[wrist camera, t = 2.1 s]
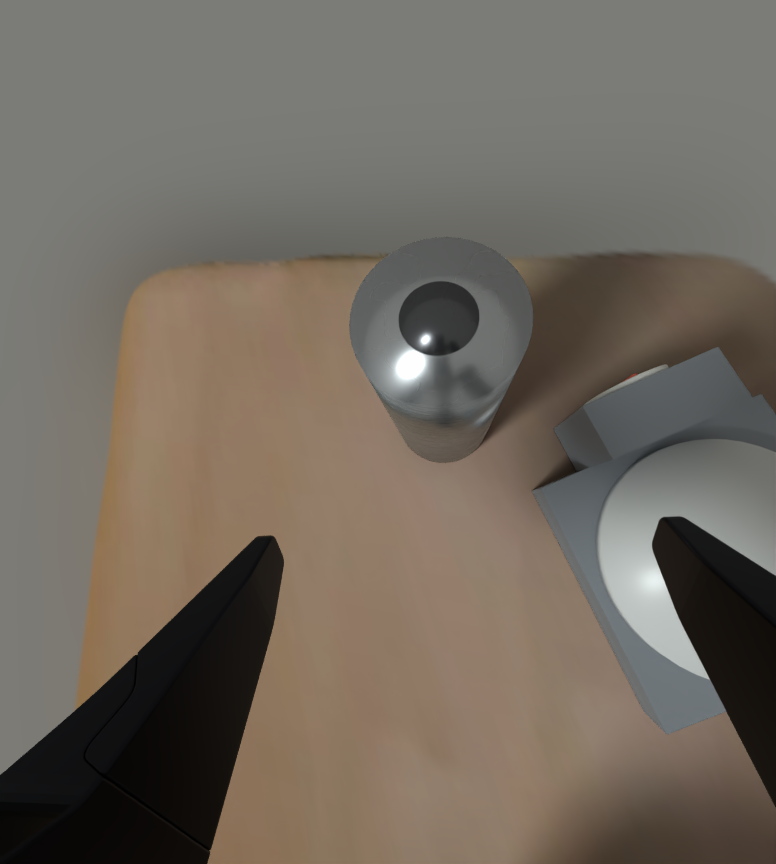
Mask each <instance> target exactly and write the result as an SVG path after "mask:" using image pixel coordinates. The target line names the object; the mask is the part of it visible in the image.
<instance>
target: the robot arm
mask: <svg viewBox="0 0 776 864" xmlns="http://www.w3.org/2000/svg"><path fill="white" fill-rule="evenodd" d="M652 550H653V553H654V556H655V559H656V561H657V564H658V566H659V569H660V572H661V574H662V577H663V579H664V582H665V585H666V587H667V590H668V592H669V595H670V598H671V600H672V603H673V605H674V608H675V610H676V613H677V615H678V618H679V620H680V622H681V624H682V626H683V628H684V630H685V632H686V634H687V636H688V638H689V640H690V642H691V644H692V646H693V648H694V649H695V651H696V653H697V655H698V657H699V659H700V661H701V663H702V665H703V667H704V669H705V671H706V673H707V675H708V677H709V679H710V681H711V683H712V685H713V686H714V688H715V690H716V692H717V694H718V696H719V698H720V700H721V702H722V704H723V706H724V708H725V710H726V712H727V714H728V716H729V718H730V720H731V722H732V723H733V725H734V727H735V729H736V731H737V733H738V735H739V737H740V739H741V741H742V743H743V745H744V747H745V749H746V751H747V753H748V755H749V757H750V759H751V760H752V762H753V764H754V766H755V768H756V770H757V772H758V774H759V776H760V778H761V780H762V782H763V784H764V786H765V788H766V790H767V792H768V794H769V796H770V797H771V799H772V801H773V803H774V805H775V807H776V576H775V575H774V574H772V573H771V572H769V571H768V570H766V569H764V568H763V567H761V566H760V565H758V564H757V563H755V562H754V561H752V560H750V559H749V558H747V557H746V556H744V555H743V554H741V553H739V552H738V551H736V550H735V549H733V548H732V547H730V546H728V545H727V544H725V543H724V542H722V541H721V540H719V539H717V538H716V537H714V536H713V535H711V534H710V533H708V532H706V531H705V530H703V529H702V528H700V527H699V526H697V525H696V524H694V523H692V522H691V521H689V520H688V519H686V518H684V517H681V516H671V517H662V518H661V519H660V520H659V522H658V525H657V528H656V531H655V534H654V537H653V540H652ZM283 567H284V559H283V555H282V553H281V550H280V548H279V546H278V543H277V541H276V539H275V537H274V536H271V535H270V536H258V537H256V538H255V539H254V540H253V541H252V542H251V543H250V544H249V545H248V546H247V547H245V548H244V549H243V550H242V551H241V552H240V553H239V554H238V555H237V556H236V557H235V558H234V559H233V560H232V561H231V562H230V563H229V564H228V565H227V566H226V567H225V568H224V569H223V570H222V571H221V572H220V573H219V574H218V575H217V576H216V577H215V578H214V579H213V580H212V581H211V582H210V583H209V584H207V585H206V586H205V587H204V588H203V589H202V590H201V591H200V592H199V593H198V594H197V595H196V596H195V597H194V598H193V599H192V600H191V601H190V602H189V603H188V604H187V605H186V606H185V607H184V608H183V609H182V610H181V611H180V612H179V613H178V614H177V615H176V616H175V617H174V618H173V619H172V620H171V621H169V622H168V623H167V624H166V625H165V626H164V627H163V628H162V629H161V630H160V631H159V632H158V633H157V634H156V635H155V636H154V637H153V638H152V639H151V640H150V641H149V642H148V643H147V644H146V645H145V646H144V647H143V648H142V649H141V650H140V651H139V652H138V655H135V656H133V657H132V658H131V659H130V660H129V661H128V662H127V663H126V664H125V665H124V666H123V667H122V668H121V669H120V670H119V671H118V672H117V673H116V674H115V675H114V676H113V677H112V678H110V679H109V680H108V681H107V682H106V683H105V684H104V685H103V686H102V687H101V688H100V689H99V690H98V691H97V692H96V693H94V694H93V695H92V696H91V697H90V698H89V699H88V700H87V701H85V702H84V703H83V704H82V705H81V706H80V707H79V708H77V709H76V710H75V711H74V712H73V713H72V714H71V715H70V716H68V717H67V718H66V719H65V720H64V721H63V722H62V723H61V724H59V725H58V726H57V727H56V728H55V729H53V730H52V731H51V732H50V733H49V734H48V735H46V736H45V737H44V738H43V739H42V740H41V741H39V742H38V743H37V744H36V745H35V746H34V747H33V748H31V749H30V750H29V751H28V752H27V753H26V754H25V755H23V756H22V757H21V758H20V759H18V760H17V761H16V762H15V763H14V764H13V765H12V766H10V767H9V768H8V769H7V770H6V771H5V772H3V773H2V774H1V775H0V864H207V863H208V859H209V856H210V851H209V850H211V848H212V844H213V840H214V837H215V833H216V830H217V826H218V823H219V819H220V815H221V812H222V808H223V805H224V801H225V797H226V794H227V790H228V787H229V783H230V780H231V776H232V772H233V769H234V765H235V762H236V758H237V755H238V751H239V747H240V744H241V740H242V737H243V733H244V730H245V726H246V722H247V719H248V715H249V712H250V708H251V705H252V701H253V697H254V694H255V690H256V687H257V683H258V680H259V676H260V672H261V669H262V665H263V662H264V658H265V654H266V651H267V647H268V644H269V640H270V637H271V633H272V629H273V625H274V620H275V615H276V609H277V603H278V597H279V591H280V585H281V579H282V573H283Z"/></svg>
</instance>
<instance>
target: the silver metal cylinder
mask: <svg viewBox="0 0 776 864" xmlns="http://www.w3.org/2000/svg"><path fill="white" fill-rule="evenodd" d="M349 326H350V338H351V343H352V347H353V350H354V353H355V356H356V358H357V360H358V362H359V364H360V366H361V367H362V369H363V371H364V372H365V374H366V376H367V378H368V379H369V381H370V383H371V384H372V386H373V388H374V389H375V391H376V393H377V395H378V396H379V398H380V400H381V401H382V403H383V405H384V407H385V408H386V410H387V412H388V413H389V415H390V417H391V419H392V420H393V422H394V424H395V425H396V427H397V429H398V430H399V432H400V434H401V436H402V437H403V439H404V441H405V442H406V444H407V445H408V447H409V448H410V449H411V450H412V451H413V452H415V453H416V454H417V455H419V456H420V457H422V458H424V459H426V460H429V461H433V462H438V463H448V462H454V461H458V460H461V459H463V458H465V457H467V456H468V455H470V454H471V453H473V452H474V451H475V450H476V449H477V448H478V447H479V445H480V444H481V443H482V441H483V439H484V437H485V435H486V433H487V431H488V429H489V427H490V425H491V423H492V421H493V419H494V417H495V415H496V412H497V410H498V408H499V406H500V404H501V402H502V400H503V398H504V396H505V394H506V392H507V390H508V388H509V385H510V383H511V381H512V379H513V377H514V375H515V373H516V371H517V369H518V367H519V365H520V363H521V361H522V358H523V356H524V354H525V352H526V350H527V348H528V345H529V342H530V338H531V335H532V328H533V307H532V301H531V297H530V294H529V291H528V288H527V286H526V284H525V282H524V280H523V278H522V277H521V276H520V274H519V273H518V271H517V270H516V269H515V268H514V266H513V265H512V264H511V263H510V262H509V261H508V260H507V259H505V258H504V257H503V256H502V255H501V254H499V253H497V252H496V251H494V250H493V249H491V248H489V247H487V246H485V245H483V244H480V243H477V242H474V241H470V240H466V239H461V238H450V237H441V238H431V239H424V240H421V241H417V242H413V243H411V244H408V245H406V246H403V247H401V248H400V249H398V250H396V251H394V252H392V253H391V254H389V255H388V256H387V257H385V258H384V259H382V260H381V261H380V262H379V263H378V264H377V265H376V266H375V267H374V268H373V269H372V270H371V271H370V272H369V274H368V275H367V276H366V278H365V279H364V280H363V282H362V283H361V285H360V287H359V289H358V291H357V293H356V296H355V298H354V301H353V304H352V309H351V313H350V324H349Z"/></svg>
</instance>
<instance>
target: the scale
mask: <svg viewBox="0 0 776 864" xmlns="http://www.w3.org/2000/svg"><path fill="white" fill-rule="evenodd" d="M554 431H555V433H556V435H557V436H558V438H559V440H560V442H561V444H562V446H563V448H564V449H565V451H566V453H567V455H568V457H569V459H570V460H571V462H572V464H573V466H574V468H575V470H576V472H574V473H572V474H570V475H567V476H565V477H563V478H560V479H558V480H556V481H553V482H551V483H549V484H546V485H544V486H542V487H539V488H537V489H535V490H533V491H532V492H533V494H534V496H535V498H536V499H537V501H538V503H539V505H540V507H541V509H542V511H543V513H544V515H545V517H546V519H547V521H548V523H549V525H550V527H551V529H552V531H553V533H554V535H555V537H556V539H557V541H558V543H559V545H560V547H561V549H562V551H563V553H564V555H565V557H566V559H567V561H568V563H569V565H570V567H571V569H572V571H573V573H574V574H575V576H576V578H577V580H578V582H579V584H580V586H581V588H582V590H583V592H584V594H585V596H586V598H587V600H588V602H589V604H590V606H591V608H592V610H593V612H594V614H595V616H596V618H597V620H598V622H599V624H600V626H601V628H602V630H603V632H604V634H605V636H606V638H607V640H608V642H609V644H610V646H611V648H612V650H613V651H614V653H615V655H616V657H617V659H618V661H619V663H620V665H621V667H622V669H623V671H624V673H625V675H626V677H627V679H628V681H629V683H630V685H631V687H632V689H633V691H634V693H635V695H636V697H637V699H638V701H639V703H640V705H641V707H642V709H643V711H644V712H645V713H646V714H647V715H648V716H649V717H650V718H651V719H652V720H653V721H654V722H655V723H656V724H657V725H658V726H659V727H660V728H661V729H662V730H663V731H664V732H665V733H666V734H669V733H672V732H674V731H677V730H680V729H682V728H685V727H687V726H690V725H692V724H695V723H698V722H700V721H703V720H705V719H708V718H710V717H713V716H716V715H718V714H721V713H723V712H726V710H725V708H724V706H723V704H722V702H721V700H720V698H719V696H718V694H717V692H716V690H715V688H714V686H713V685H712V683H711V681H710V679H709V677H708V675H707V673H706V671H705V669H704V667H703V665H702V663H701V661H700V659H699V657H698V655H697V653H696V651H695V649H694V648H693V646H692V644H691V642H690V640H689V638H688V636H687V634H686V632H685V630H684V628H683V626H682V624H681V622H680V620H679V618H678V615H677V613H676V610H675V608H674V605H673V603H672V600H671V598H670V595H669V592H668V590H667V587H666V585H665V582H664V579H663V577H662V574H661V572H660V569H659V566H658V564H657V561H656V559H655V556H654V553H653V550H652V540H653V537H654V534H655V531H656V528H657V525H658V522H659V520H660V519H661V518H662V517H671V516H681V517H684V518H686V519H688V520H689V521H691V522H692V523H694V524H696V525H697V526H699V527H700V528H702V529H703V530H705V531H706V532H708V533H710V534H711V535H713V536H714V537H716V538H717V539H719V540H721V541H722V542H724V543H725V544H727V545H728V546H730V547H732V548H733V549H735V550H736V551H738V552H739V553H741V554H743V555H744V556H746V557H747V558H749V559H750V560H752V561H754V562H755V563H757V564H758V565H760V566H761V567H763V568H764V569H766V570H768V571H769V572H771V573H772V574H774V575H775V576H776V414H775V413H774V411H773V410H772V408H771V407H770V405H769V404H768V403H767V401H766V400H765V398H764V397H763V395H762V394H759V395H756V396H754V397H752V395H751V394H750V392H749V391H748V390H747V388H746V387H745V385H744V384H743V382H742V381H741V379H740V378H739V376H738V375H737V374H736V372H735V371H734V369H733V368H732V366H731V365H730V363H729V362H728V360H727V359H726V358H725V356H724V355H723V353H722V352H721V350H720V349H719V347H716V348H713V349H711V350H709V351H707V352H704V353H702V354H700V355H697V356H695V357H693V358H691V359H688V360H686V361H684V362H681V363H679V364H677V365H675V366H672V367H670V368H669V367H668V365H667V364H665V365H661V366H658V367H655V368H653V369H650V370H648V371H645V372H643V373H641V374H637V373H635V374H632V375H631V376H629V377H628V378H627V379H625V380H624V381H623V382H621V383H620V384H618V385H616V386H614V387H612V388H610V389H608V390H606V391H604V392H603V393H601V394H599V395H597V396H596V397H594V398H592V399H591V400H589V401H588V402H586V403H585V404H584V405H583V406H582V407H580V408H579V409H578V410H577V411H575V412H574V413H573V414H572V415H570V416H569V417H568V418H567V419H565V420H564V421H563V422H562V423H560V424H559V425H558V426H557V427H555V428H554Z"/></svg>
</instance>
